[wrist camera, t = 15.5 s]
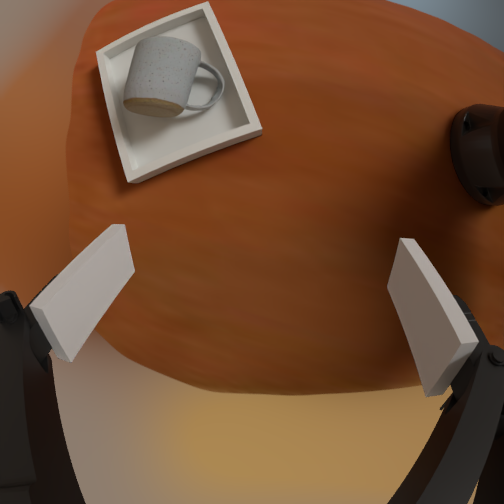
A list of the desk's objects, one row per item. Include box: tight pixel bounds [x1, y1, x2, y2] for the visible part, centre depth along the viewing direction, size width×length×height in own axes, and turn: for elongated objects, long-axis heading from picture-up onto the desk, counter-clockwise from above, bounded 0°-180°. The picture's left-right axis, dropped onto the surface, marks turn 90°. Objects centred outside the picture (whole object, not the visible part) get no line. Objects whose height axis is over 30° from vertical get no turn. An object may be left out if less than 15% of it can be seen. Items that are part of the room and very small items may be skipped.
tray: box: [96, 2, 262, 183], centre depth 30 cm, size 16×20×3 cm
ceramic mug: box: [123, 36, 225, 117], centre depth 26 cm, size 11×8×8 cm
